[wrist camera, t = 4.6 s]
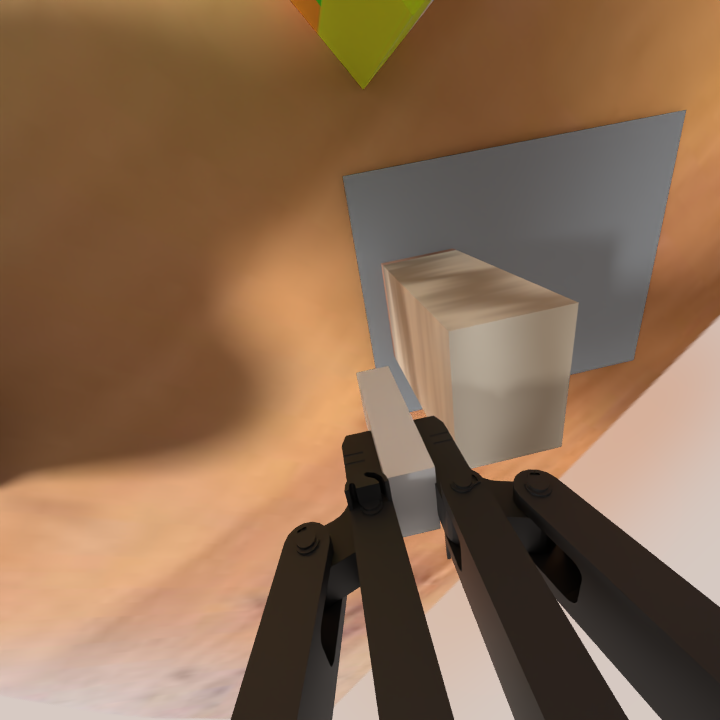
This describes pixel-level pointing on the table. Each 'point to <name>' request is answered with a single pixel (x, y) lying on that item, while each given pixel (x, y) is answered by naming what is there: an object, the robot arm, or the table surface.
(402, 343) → the birch block
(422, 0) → the puzzle toy
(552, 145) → the slate mat
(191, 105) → the table surface
